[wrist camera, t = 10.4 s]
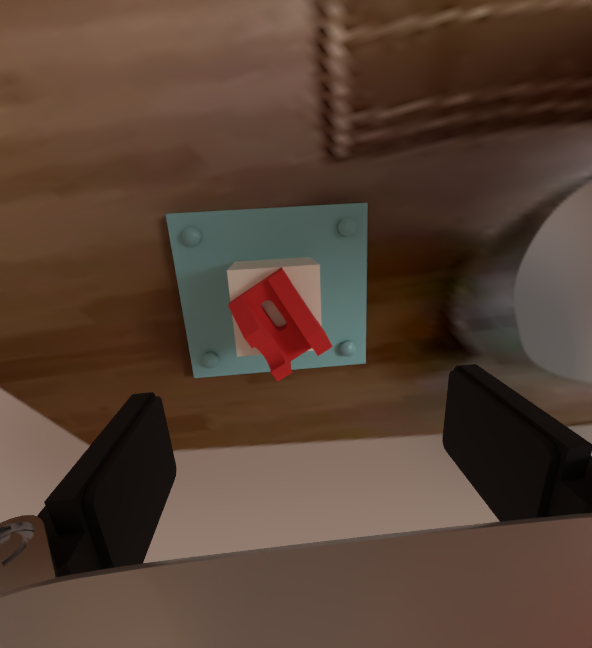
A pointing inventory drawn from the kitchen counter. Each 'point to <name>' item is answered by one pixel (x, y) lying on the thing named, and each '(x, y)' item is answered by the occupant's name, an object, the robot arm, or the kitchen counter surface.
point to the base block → (252, 272)
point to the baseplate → (262, 244)
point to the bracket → (270, 338)
